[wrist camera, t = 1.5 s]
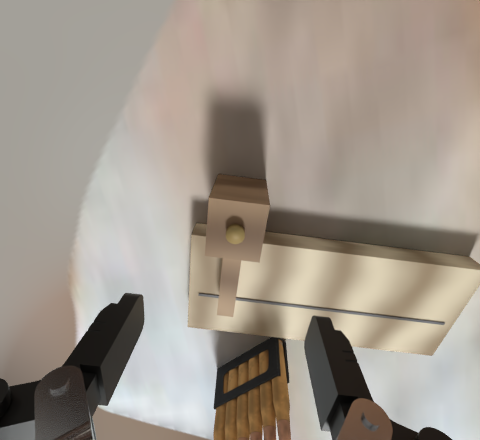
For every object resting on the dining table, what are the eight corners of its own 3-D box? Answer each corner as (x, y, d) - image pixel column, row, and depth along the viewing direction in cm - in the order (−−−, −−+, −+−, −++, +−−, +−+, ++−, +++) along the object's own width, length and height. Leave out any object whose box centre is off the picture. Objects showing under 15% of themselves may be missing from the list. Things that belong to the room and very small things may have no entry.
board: (192, 310, 32) (187, 327, 29) (196, 222, 26) (191, 235, 24) (420, 337, 32) (432, 356, 30) (469, 256, 27) (489, 271, 24)
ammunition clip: (276, 334, 33) (288, 452, 22) (286, 342, 33) (302, 461, 23) (217, 369, 36) (202, 486, 26) (226, 375, 37) (215, 493, 26)
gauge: (218, 174, 24) (207, 200, 18) (266, 179, 24) (270, 208, 18) (209, 281, 30) (198, 328, 24) (248, 285, 30) (247, 334, 24)
